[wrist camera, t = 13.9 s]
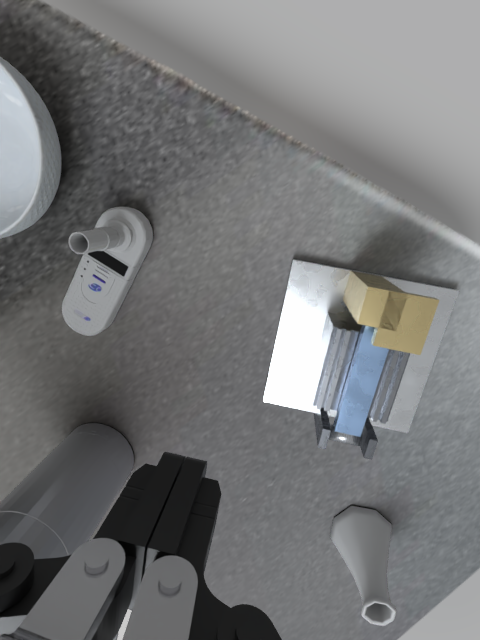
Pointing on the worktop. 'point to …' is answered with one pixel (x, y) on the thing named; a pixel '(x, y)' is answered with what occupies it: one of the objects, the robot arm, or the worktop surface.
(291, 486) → the worktop surface
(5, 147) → the cereal bowl
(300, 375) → the clip base
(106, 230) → the electronic device
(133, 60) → the worktop surface
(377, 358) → the blue bar
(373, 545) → the flask
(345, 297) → the block
